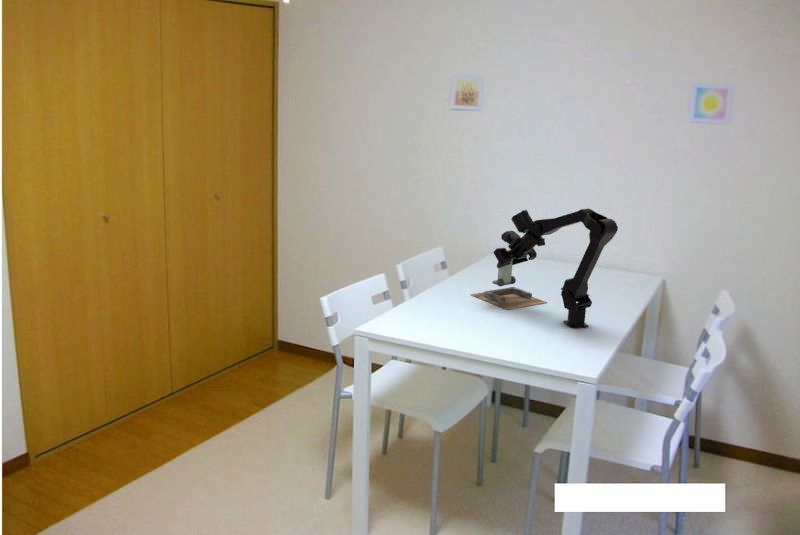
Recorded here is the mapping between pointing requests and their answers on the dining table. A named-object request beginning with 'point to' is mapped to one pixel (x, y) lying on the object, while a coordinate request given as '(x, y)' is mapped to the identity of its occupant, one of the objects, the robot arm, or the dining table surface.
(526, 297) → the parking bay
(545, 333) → the dining table surface
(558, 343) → the dining table surface
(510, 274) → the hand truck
